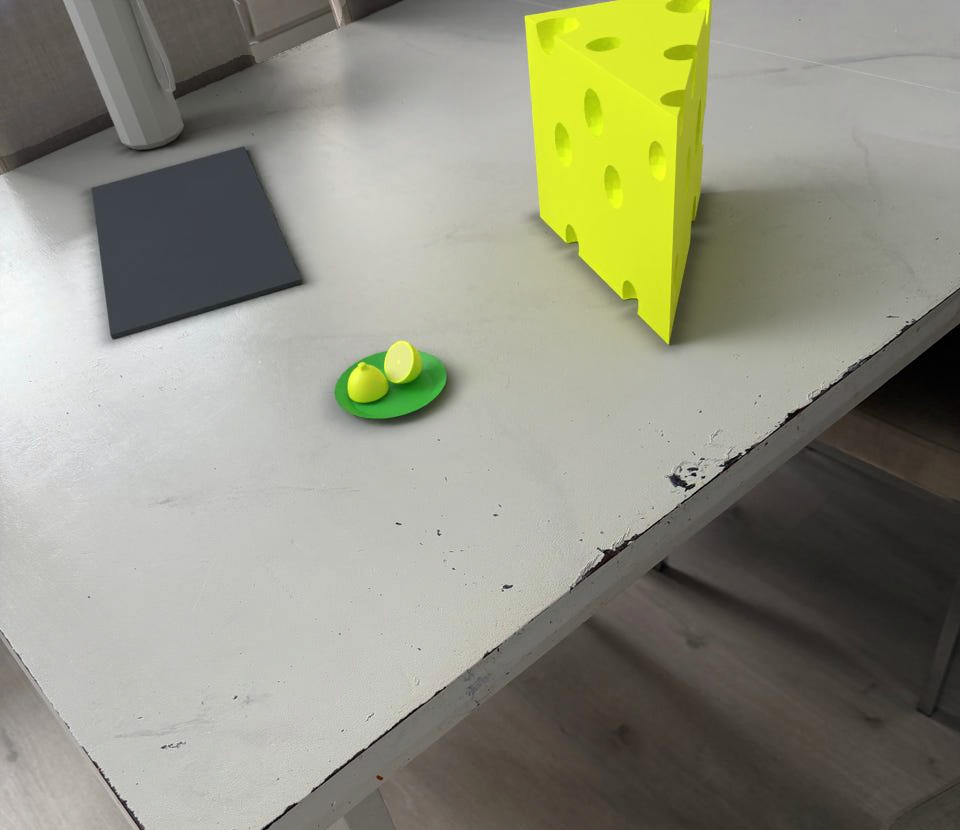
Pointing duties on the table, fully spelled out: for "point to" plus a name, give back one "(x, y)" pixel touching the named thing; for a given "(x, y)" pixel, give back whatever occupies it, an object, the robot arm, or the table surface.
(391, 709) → the table surface
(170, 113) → the water bottle
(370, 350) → the table surface
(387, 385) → the lemon
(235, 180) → the slate mat
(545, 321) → the table surface
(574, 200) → the cheese wedge
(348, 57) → the table surface
